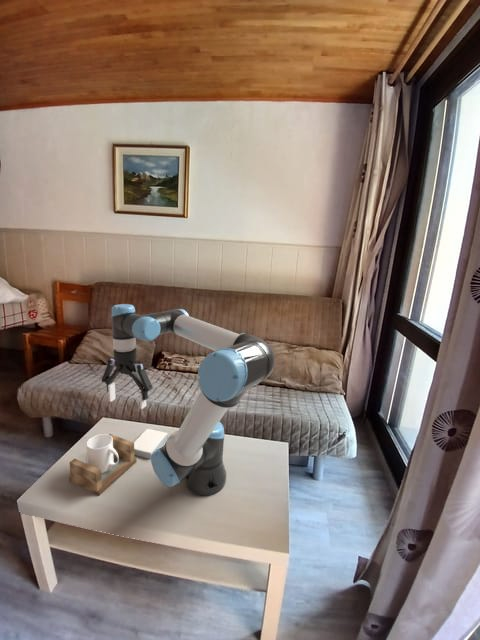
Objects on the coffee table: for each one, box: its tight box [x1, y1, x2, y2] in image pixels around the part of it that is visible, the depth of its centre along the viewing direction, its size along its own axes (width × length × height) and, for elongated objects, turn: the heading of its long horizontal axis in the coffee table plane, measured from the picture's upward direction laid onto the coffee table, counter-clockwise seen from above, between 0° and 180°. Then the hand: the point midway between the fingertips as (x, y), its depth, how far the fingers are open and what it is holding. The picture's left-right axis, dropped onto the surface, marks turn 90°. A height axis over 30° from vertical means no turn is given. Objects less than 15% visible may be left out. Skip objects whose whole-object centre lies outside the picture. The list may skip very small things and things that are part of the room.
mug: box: [86, 433, 119, 474], centre depth 111 cm, size 9×12×11 cm
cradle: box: [68, 433, 137, 496], centre depth 112 cm, size 14×18×8 cm
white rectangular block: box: [134, 428, 169, 460], centre depth 128 cm, size 10×14×3 cm
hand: (127, 403), depth 112 cm, fingers open, 13 cm apart
